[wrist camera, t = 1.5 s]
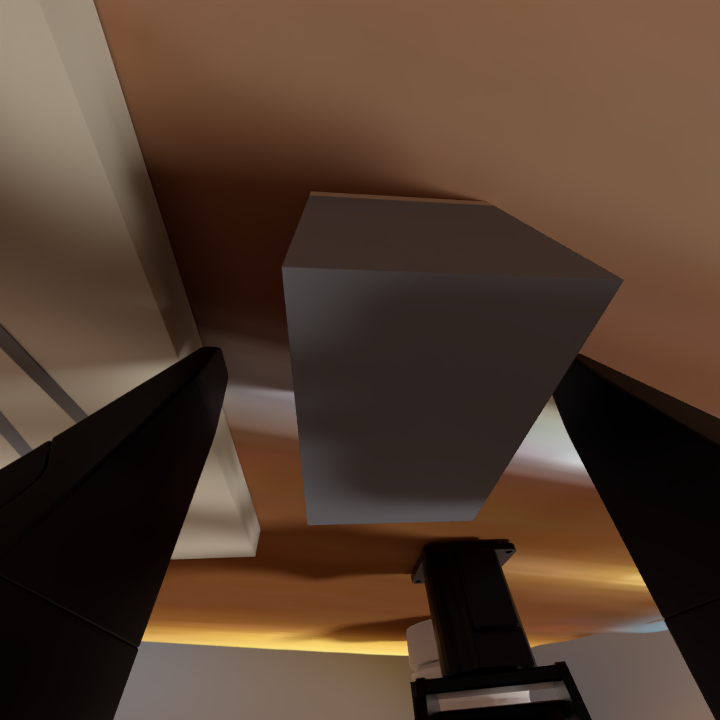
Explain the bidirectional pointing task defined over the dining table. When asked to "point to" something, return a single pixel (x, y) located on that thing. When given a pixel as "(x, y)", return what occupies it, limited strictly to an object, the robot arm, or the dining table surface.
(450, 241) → the block
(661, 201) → the dining table surface
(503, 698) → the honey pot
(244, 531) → the board
